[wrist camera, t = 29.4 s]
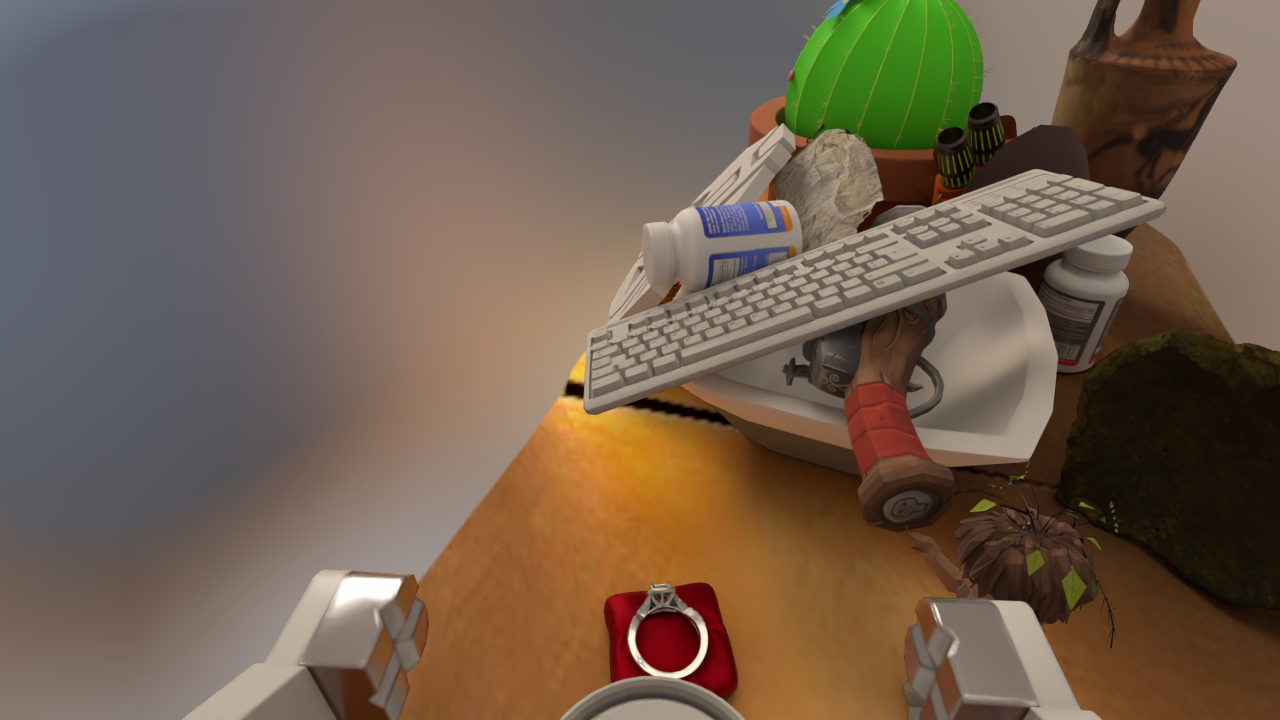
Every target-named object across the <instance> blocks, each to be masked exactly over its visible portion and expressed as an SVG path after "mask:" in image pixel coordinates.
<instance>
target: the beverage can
mask: <svg viewBox="0 0 1280 720" xmlns="http://www.w3.org/2000/svg"><path fill="white" fill-rule="evenodd" d="M560 720H745V719H744V717H743V716H742V715H741V714H740V713H739V712H738V711H736V710H735V709H734V708H733V707H732V706H731V705H730V704H729V703H727V702H726V701H725V700H723V699H722V698H720V697H719V696H717V695H716V694H714V693H713V692H711V691H709V690H707V689H705V688H703V687H700V686H698V685H696V684H694V683H691V682H687V681H684V680H681V679H677V678H670V677H663V676H640V677H634V678H628V679H623V680H620V681H617V682H614V683H611V684H608V685H606V686H604V687H602V688H600V689H598V690H596V691H594V692H592V693H590V694H589V695H587V696H586V697H585V698H583V699H582V700H580V701H579V702H577V703H576V704H575V705H574V706H573V707H572V708H571V709H570V710H569V711H567V712H566V713H565V714H564V715H563V716H562V717H561V718H560Z"/></svg>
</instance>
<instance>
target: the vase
mask: <svg viewBox="0 0 1280 720" xmlns="http://www.w3.org/2000/svg"><path fill="white" fill-rule="evenodd" d="M1119 2H1120V0H1098V2H1097V4H1096V6H1095V9H1094V11H1093V14H1092V16H1091V20H1090V22H1089V24H1088V27H1087V29H1086V31H1085V32H1084V34H1083V36H1082V38H1081V39H1080V40H1079V42H1078V43H1077V45H1075V46H1074V47H1073V48H1072V49H1071V50H1070V52H1069V56H1068V61H1067V65H1066V70H1065V75H1064V79H1063V82H1062V86H1061V90H1060V93H1059V97H1058V100H1057V104H1056V107H1055V111H1054V115H1053V119H1052V122H1051V126H1066V127H1070V128H1071V129H1072V131H1073V132H1074V134H1075V135H1076V137H1077V138H1078V140H1079V141H1080V142H1081V144H1082V145H1083V147H1084V148H1085V150H1086V152H1087V159H1088V166H1089V174H1090V181H1091V182H1095V183H1099V184H1103V185H1104V186H1106V187H1114V188H1118V189H1122V190H1127V191H1131V192H1135V193H1139V194H1141V196H1145V197H1149V198H1153V199H1157V200H1158V199H1159V198H1160V196H1161V195H1162V194H1163V192H1164V191H1165V189H1166V188H1167V186H1168V184H1169V183H1170V181H1171V179H1172V178H1173V177H1174V175H1175V173H1176V171H1177V170H1178V168H1179V166H1180V165H1181V163H1182V161H1183V159H1184V157H1185V156H1186V154H1187V152H1188V150H1189V149H1190V146H1191V145H1192V143H1193V141H1194V139H1195V138H1196V136H1197V134H1198V132H1199V131H1200V129H1201V127H1202V125H1203V123H1204V121H1205V119H1206V118H1207V116H1208V114H1209V112H1210V110H1211V108H1212V106H1213V104H1214V103H1215V101H1216V99H1217V97H1218V96H1219V94H1220V92H1221V90H1222V88H1223V87H1224V85H1225V84H1226V82H1227V81H1228V79H1229V78H1230V76H1231V74H1232V73H1233V71H1234V70H1235V68H1236V66H1237V62H1236V60H1235V59H1233V58H1232V57H1230V56H1227V55H1224V54H1221V53H1218V52H1215V51H1212V50H1209V49H1207V48H1206V47H1204V46H1202V45H1201V44H1200V43H1199V42H1198V41H1197V40H1196V38H1195V37H1194V36H1193V19H1194V16H1195V13H1196V11H1197V8H1198V5H1199V3H1200V0H1145V2H1144V5H1143V7H1142V10H1141V12H1140V14H1139V16H1138V18H1137V19H1136V21H1135V22H1134V23H1133V25H1132V26H1131V27H1130V28H1129V29H1128V30H1127V31H1126V32H1125V33H1124V34H1122V35H1121V36H1119V37H1118V36H1116V35H1115V34H1114V23H1115V17H1116V10H1117V7H1118V5H1119ZM1135 227H1136V226H1134V227H1131V228H1128V229H1125V230H1122V231H1119V232H1117V233H1114V234H1111V235H1114V236H1117V237H1120V238H1122V239H1124V238H1125V237H1126V236H1127V235H1128V234H1129V233H1131V232H1132V231H1133V229H1134V228H1135Z"/></svg>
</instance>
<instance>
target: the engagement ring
mask: <svg viewBox="0 0 1280 720" xmlns="http://www.w3.org/2000/svg"><path fill="white" fill-rule="evenodd" d="M604 615H605V622H606V626H607V629H608V632H609V635H610V672H611V683H614V682H617V681H620V680H623V679H628V678H634V677H640V676H663V677H670V678H677V679H681V680H684V681H687V682H691V683H694V684H696V685H698V686H700V687H703V688H705V689H707V690H709V691H711V692H713V693H714V694H716V695H717V696H719V697H724V696H728V695H730V694H732V693H733V692H734V691H735V690H736V688H737V685H738V674H737V669H736V664H735V660H734V656H733V652H732V647H731V644H730V640H729V637H728V634H727V631H726V629H725V627H724V625H723V621H722V616H721V612H720V609H719V605H718V601H717V598H716V595H715V592H714V590H713V588H712V587H711V586H710V585H709V584H707V583H701V582H700V583H691V584H685V585H680V586H675V587H671V584H670V582H667V584H655V585H653V584H652V583H651V584H650V589H649V590H647V591H640V592H628V593H622V594H615V595H612V596H610V597H609V598H608V599H607V600H606V603H605V607H604Z"/></svg>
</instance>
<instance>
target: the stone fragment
mask: <svg viewBox="0 0 1280 720" xmlns="http://www.w3.org/2000/svg"><path fill="white" fill-rule="evenodd" d="M824 127H825V125H824V124H823V125H821V129H819V130H817V132H816V133H815V134H814V136H816V134H818V132H820V131H822V129H824ZM847 130H849V129H844V130H841V129H832V130H830V129H829V130H826V131H824V132H823V133H822V134H821V135H820V136H818V137H817V138H816V139H815V140H813V141H812V142H809V143H808V140H809V139H810V137H811V136H810V137H809V138H808V139H807V141H805V142H806V143H808V144H807V145H805V147H803V148H802V150H801V151H800V152H799V153H798V154H797V155H796V156H795V157H792V159H791V161H789V163H787V164H785V165H784V168H783V169H782V171H781V172H780V173H779V175H778V176H777V177H776V179H775V181H774V183H773V191H774V193H775V197H776V200H784V201H787V202H789V203H790V204H791V205H792V206H793V207H794V209H795V211H796V212H797V214H798V217H799V220H800V224H801V230H802V253H805V252H808V251H811V250H813V249H816V248H819V247H822V246H824V245H827V244H830V243H833V242H835V241H838V240H841V239H843V238H846V237H849V236H852V235H855V234H856V233H857V232H858V231H857V230H856V229H857V227H859V223H861V222H862V221H864V220H863V219H865V218H866V217H867V216H868V215H869V214H871V209H872V208H873V205H875V204H876V202H879V201H882V200H885V198H884V196H883V193H882V186H881V184H880V179H879V175H878V171H877V165H876V164H875V160H874V157H873V156H872V152H871V150H869V149H870V147H868V144H866V143H865V141H864V139H865V138H864V139H863V138H862V137H861V138H860V137H859V135H857V134H856V135H854V134H852V135H851V132H850V131H847ZM839 132H846V133H850V135H848V134H846V133H844V134H843V133H841V134H837V133H839ZM814 136H813V138H814ZM862 141H864V142H862ZM863 143H865V144H863ZM918 185H919V184H918Z"/></svg>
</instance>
